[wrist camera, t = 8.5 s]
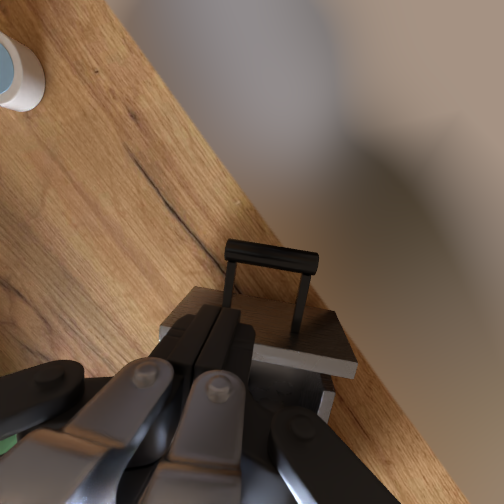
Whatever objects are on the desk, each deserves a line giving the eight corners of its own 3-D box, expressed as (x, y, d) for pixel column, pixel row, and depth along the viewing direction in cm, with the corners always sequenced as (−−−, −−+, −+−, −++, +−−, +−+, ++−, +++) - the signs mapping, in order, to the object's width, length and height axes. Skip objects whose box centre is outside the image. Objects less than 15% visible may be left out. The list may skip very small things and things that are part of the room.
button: (-4, 28, 21) (-33, 11, 19) (53, 62, 21) (30, 49, 19) (-19, 92, 22) (-48, 82, 20) (35, 123, 22) (11, 117, 20)
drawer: (200, 222, 22) (165, 236, 15) (350, 246, 21) (384, 273, 14) (182, 412, 27) (148, 489, 20) (303, 438, 26) (311, 527, 19)
